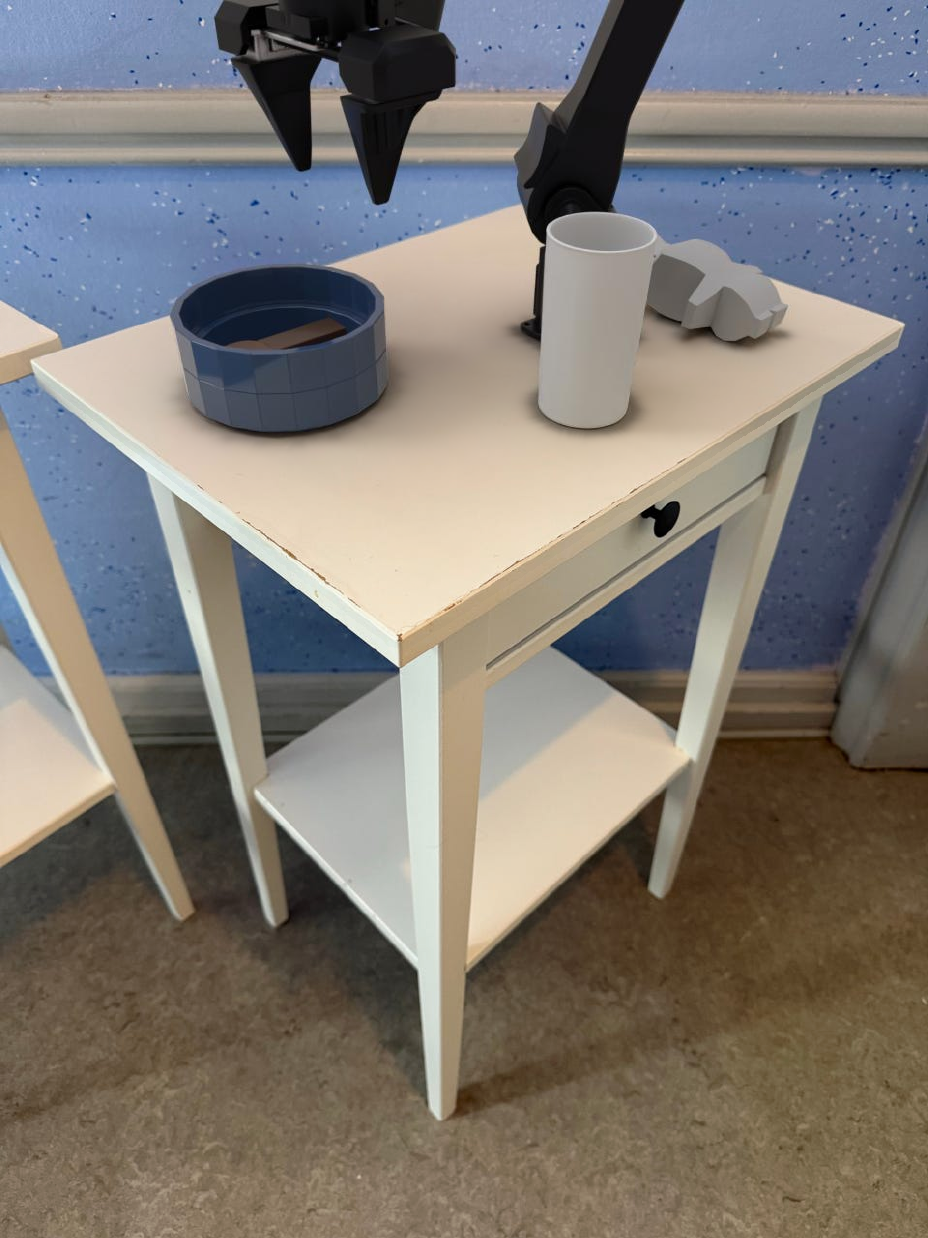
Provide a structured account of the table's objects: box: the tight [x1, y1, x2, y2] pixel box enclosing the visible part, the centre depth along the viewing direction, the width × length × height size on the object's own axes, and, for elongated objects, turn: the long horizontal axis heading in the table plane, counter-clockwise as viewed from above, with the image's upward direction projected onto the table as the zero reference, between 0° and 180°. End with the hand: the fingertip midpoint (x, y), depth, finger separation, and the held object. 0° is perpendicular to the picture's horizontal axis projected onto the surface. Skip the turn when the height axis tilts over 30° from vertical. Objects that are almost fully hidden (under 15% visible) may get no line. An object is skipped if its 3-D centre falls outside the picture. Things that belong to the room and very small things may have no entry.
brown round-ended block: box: [226, 317, 347, 350], centre depth 64 cm, size 4×9×3 cm, turn 129°
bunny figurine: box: [646, 233, 789, 342], centre depth 73 cm, size 10×5×15 cm
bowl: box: [169, 263, 389, 433], centre depth 63 cm, size 14×14×6 cm
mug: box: [537, 212, 658, 429], centre depth 61 cm, size 10×7×12 cm, turn 142°
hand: (341, 186), depth 63 cm, fingers open, 9 cm apart
